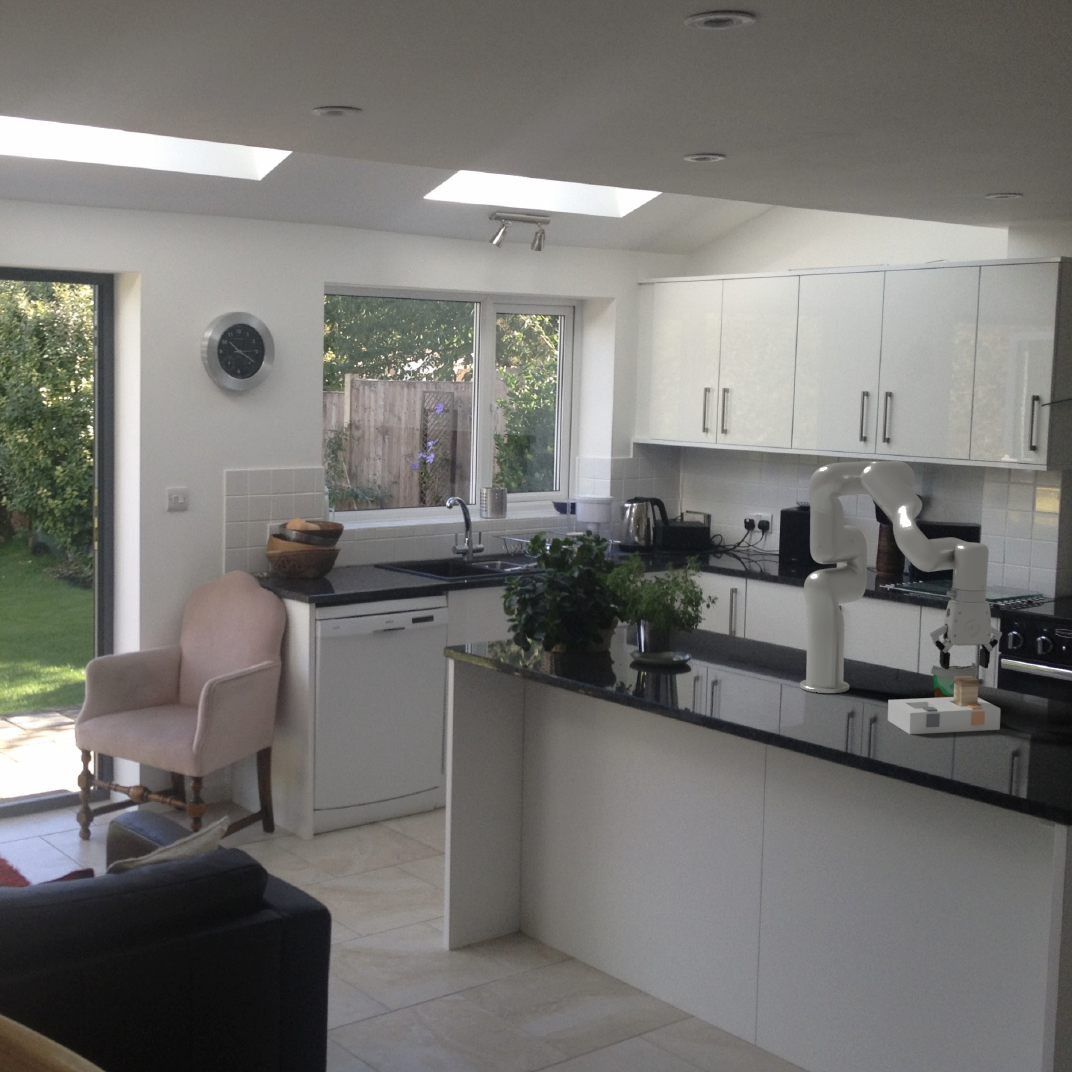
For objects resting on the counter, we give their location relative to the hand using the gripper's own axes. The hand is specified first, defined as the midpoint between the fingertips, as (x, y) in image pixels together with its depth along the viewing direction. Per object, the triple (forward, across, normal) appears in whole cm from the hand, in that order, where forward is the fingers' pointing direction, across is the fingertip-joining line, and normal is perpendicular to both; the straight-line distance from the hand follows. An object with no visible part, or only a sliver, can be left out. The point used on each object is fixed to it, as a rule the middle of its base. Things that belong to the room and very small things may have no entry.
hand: (964, 667), depth 299 cm
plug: (+12, 0, -1) cm, 12 cm away
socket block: (+14, -5, -1) cm, 14 cm away
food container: (+14, +7, +15) cm, 22 cm away
